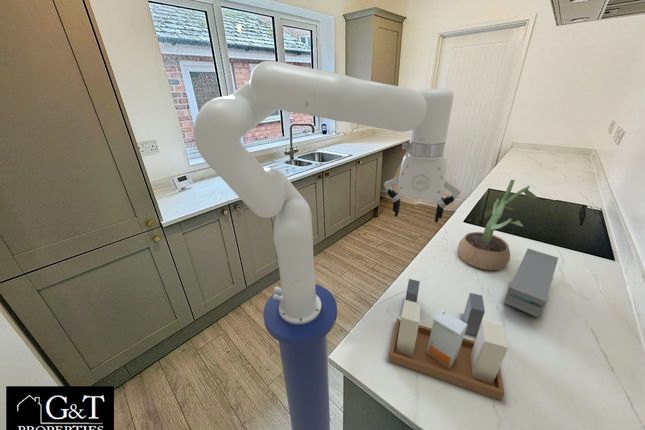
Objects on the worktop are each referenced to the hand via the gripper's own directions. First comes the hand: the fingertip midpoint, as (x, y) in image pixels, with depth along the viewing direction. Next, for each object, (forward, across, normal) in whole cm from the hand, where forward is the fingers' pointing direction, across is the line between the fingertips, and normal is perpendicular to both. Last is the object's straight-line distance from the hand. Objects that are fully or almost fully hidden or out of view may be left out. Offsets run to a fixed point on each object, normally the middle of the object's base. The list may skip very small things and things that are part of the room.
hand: (416, 217), depth 66 cm
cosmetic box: (+30, +11, -14) cm, 35 cm away
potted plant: (+31, +26, +37) cm, 55 cm away
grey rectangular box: (+31, +34, +16) cm, 48 cm away
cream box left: (+30, +2, -14) cm, 33 cm away
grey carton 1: (+30, +2, -1) cm, 30 cm away
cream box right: (+30, +20, -14) cm, 38 cm away
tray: (+30, +11, -14) cm, 35 cm away
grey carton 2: (+30, +18, -1) cm, 35 cm away
